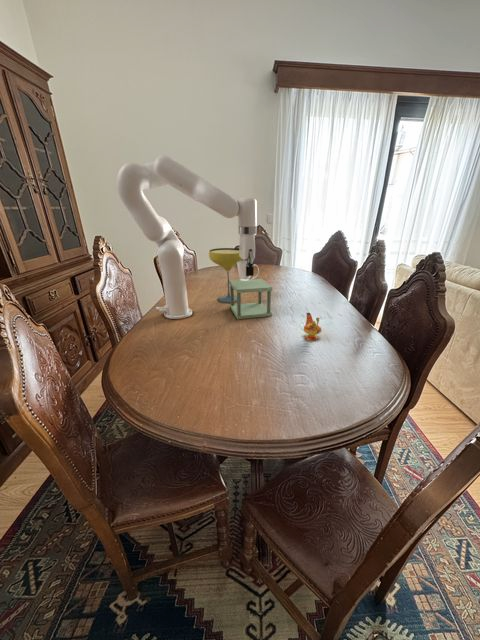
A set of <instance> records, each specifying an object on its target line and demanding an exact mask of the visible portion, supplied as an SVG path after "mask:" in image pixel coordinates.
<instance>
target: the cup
mask: <svg viewBox="0 0 480 640" xmlns="http://www.w3.org/2000/svg"><path fill="white" fill-rule="evenodd" d="M248 263H249V261H248ZM253 264H254V263H253ZM236 266H237V273H238V277H239V280H240V281H243V282H247V281H249V280H253V279H257V277H258V276H259V275H260V268H259V266H258V265H257V264H254V266H255V267H257V274H256V275H255V276H253V277H251V276H246V267H247V262H246V261H238V262H237V265H236Z"/></svg>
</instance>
